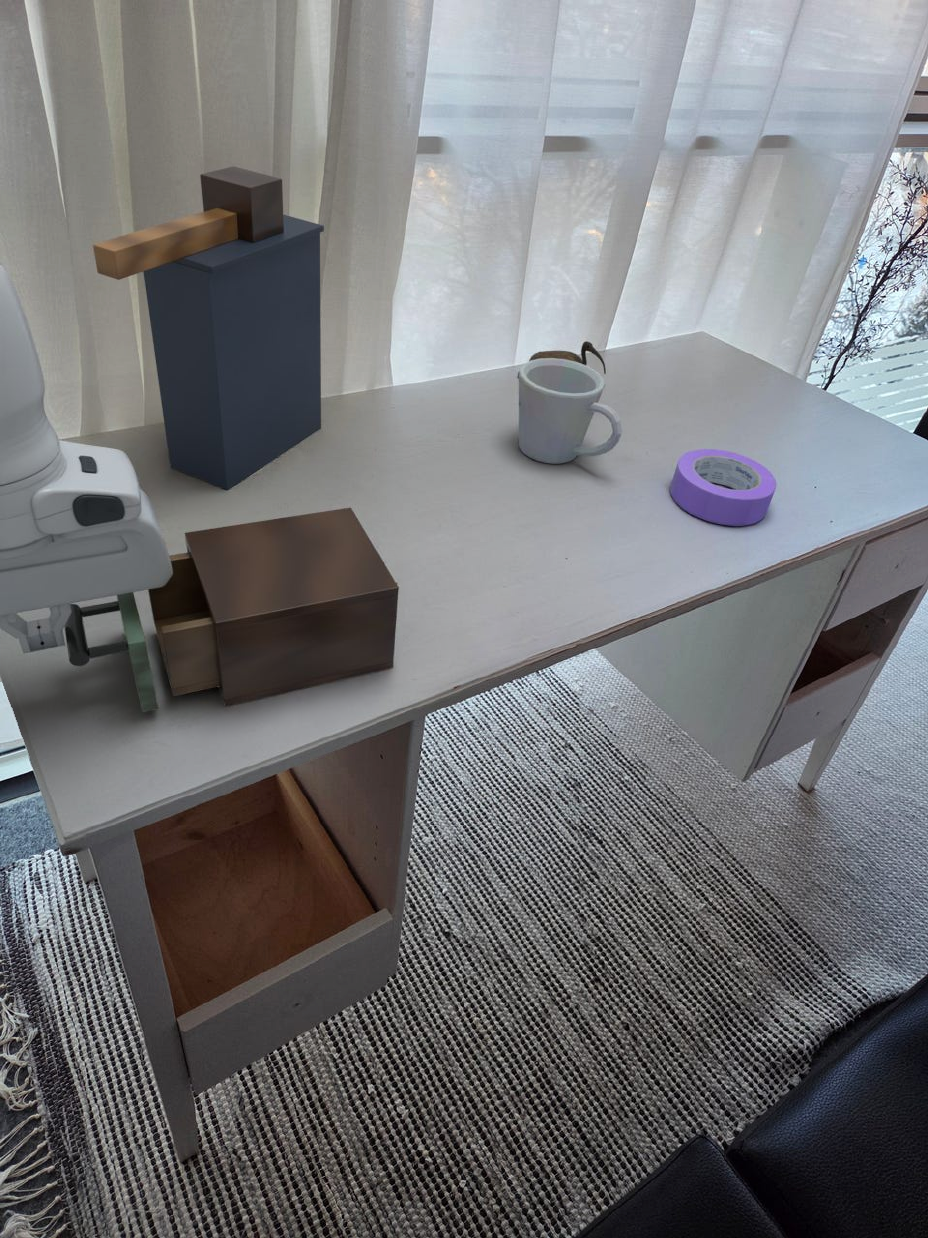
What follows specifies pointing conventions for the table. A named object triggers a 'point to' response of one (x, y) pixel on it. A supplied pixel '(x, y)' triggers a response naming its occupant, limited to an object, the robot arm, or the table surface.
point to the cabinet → (295, 602)
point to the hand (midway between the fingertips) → (44, 644)
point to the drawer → (159, 634)
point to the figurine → (570, 355)
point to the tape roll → (718, 502)
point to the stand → (238, 351)
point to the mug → (560, 410)
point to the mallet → (201, 224)
